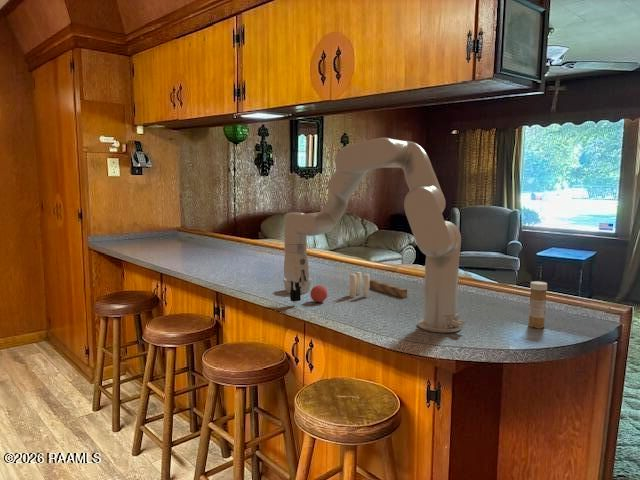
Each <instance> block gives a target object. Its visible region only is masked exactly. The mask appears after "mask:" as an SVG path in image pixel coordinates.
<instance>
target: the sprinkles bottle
mask: <svg viewBox="0 0 640 480" xmlns="http://www.w3.org/2000/svg"><path fill="white" fill-rule="evenodd" d="M529 288H530V296H529V297H530V298H529V299H530V300H529V306H528V307H529V309H528V311H529V312H528V315H529V317H528V326H529V327H530V328H533V327H535V328H534V329H544V328H545V320H546V319H545V317H546V306H547V292H548V283H547V282H545V281H538V280H537V281H530V287H529ZM543 327H544V328H543Z"/></svg>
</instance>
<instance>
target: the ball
mask: <svg viewBox="0 0 640 480" xmlns="http://www.w3.org/2000/svg"><path fill="white" fill-rule="evenodd" d="M327 297H328V291H327V288H326V287H324V286H323V285H316V286H313V287H312V289H310V298H311V299H312V301H314V302H316V303H323V302H324V301H325V300H326V299H327Z"/></svg>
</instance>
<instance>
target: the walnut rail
mask: <svg viewBox="0 0 640 480" xmlns="http://www.w3.org/2000/svg"><path fill="white" fill-rule="evenodd" d="M369 289H372V290H376V291H378V292H383V293H386V294H389V295H392V296H395V297H398V298H403V299H404V298H407V297H408V289H407V288H402V287H399V286H396V285H392V284H388V283H385V282H382V281H379V280H374V279H372V278H370V281H369Z"/></svg>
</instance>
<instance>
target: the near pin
mask: <svg viewBox="0 0 640 480" xmlns="http://www.w3.org/2000/svg"><path fill="white" fill-rule="evenodd" d="M370 276H371V275H370V274H369V273H364V274H363V275H362V298H370V288H369V281H370V279H371V278H370Z"/></svg>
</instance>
